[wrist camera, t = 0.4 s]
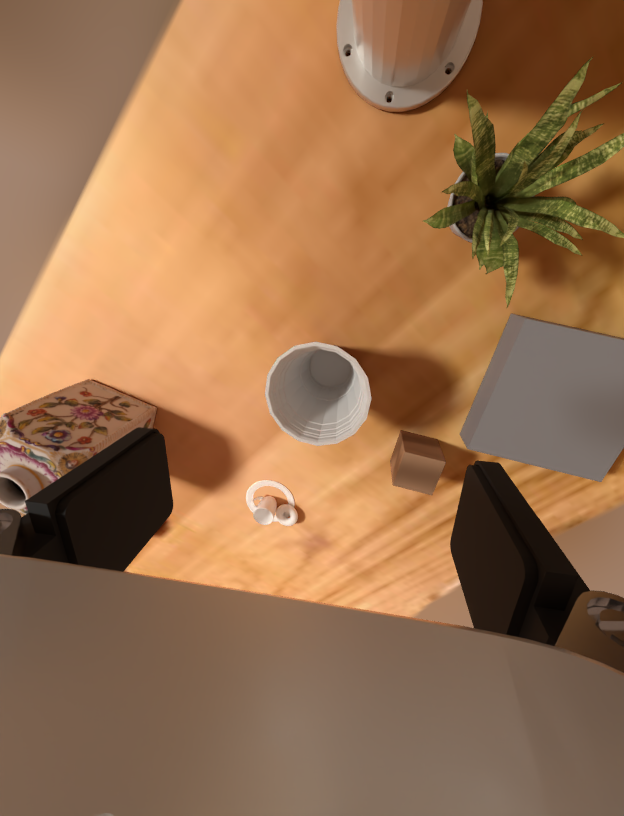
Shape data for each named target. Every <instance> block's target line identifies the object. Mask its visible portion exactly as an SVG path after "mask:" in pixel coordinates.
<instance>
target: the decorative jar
mask: <svg viewBox="0 0 624 816" xmlns="http://www.w3.org/2000/svg"><path fill="white" fill-rule="evenodd" d="M156 411H157V408H156V407H155V406H152V405H149V404H147V403H145V402H142V401H140V400H137V399H135V398H133V397H131V396H128V395H126V394H123V393H121V392H119V391H117V390H114V389H112V388H110V387H107V386H105V385H102V384H99V383H97V382H95V381H92V380H89V379H88V380H85V381H82V382H80V383H77V384H74V385H72V386H69V387H66V388H64V389H62V390H59V391H57V392H54V393H51V394H49V395H47V396H44V397H42V398H40V399H37V400H35V401H32V402H30V403H28V404H26V405H23V406H21V407H19V408H17V409H15V410H12V411H10V412H8V413H5V414H3V415H2V416H1V417H0V503H1V504H2V505H4V506H6V507H8V508H11V509H13V510H16V511H18V512H19V513H22V514H24V515H26V514H27V513H28V510H27V507H26V504H25V501H26V500H27V499H29V498H30V497H32V496H33V495H35V494H36V493H38V492H39V491H41V490H42V489H44V488H45V487H47V486H48V485H50V484H52V483H53V482H55V481H56V480H58V479H59V478H61V477H62V476H64V475H65V474H67V473H68V472H70V471H71V470H73V469H74V468H76V467H77V466H79V465H81V464H82V463H84V462H85V461H87V460H88V459H90V458H91V457H93V456H94V455H96V454H97V453H99V452H100V451H102V450H103V449H105V448H106V447H108V446H110V445H111V444H113V443H114V442H116V441H117V440H119V439H120V438H122V437H123V436H125V435H126V434H128V433H129V432H131V431H132V430H134V429H135V428H138V427H141V428H152V429H153V424H154V420H155V416H156Z"/></svg>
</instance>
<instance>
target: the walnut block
mask: <svg viewBox="0 0 624 816" xmlns="http://www.w3.org/2000/svg"><path fill="white" fill-rule="evenodd" d="M390 463H391V472H392V482H393V485H394V486H398V487H402V488H406V489H409V490H413V491H417V492H421V493H425V494H429V495H432V494H433V492H434V490H435V487H436V485H437V482H438V480H439V478H440V475H441V473H442V471H443V468H444V466H445V464H446V461H445V458H444V456H443V453H442V450H441V448H440V445H439V443H438V440H437V439H434V438H430V437H426V436H422V435H418V434H414V433H410V432H406V431H402V430H401V431H400V434H399V437H398V440H397V443H396V446H395V449H394V451H393V454H392V457H391V460H390Z"/></svg>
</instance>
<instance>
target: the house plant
mask: <svg viewBox="0 0 624 816" xmlns="http://www.w3.org/2000/svg"><path fill="white" fill-rule="evenodd" d="M594 56H595V55H594ZM594 56H593V57H594ZM593 57H592V58H593ZM592 58H591V59H592ZM591 59H590V60H591ZM590 60H588V61H587V62H586V63H585V64H584V65H583V66H582V68H581V69H580V70H579V71H578V73H577V74H576V75H575V76H574V77H573V78H572V80H571V81H570V82H569V83H568V84H567V85H566V86H565V88H564V89H563V90H562V92H561V93H560V94H559V96H558V97H557V98H556V100H555V101H554V102H553V103H552V104H551V106H550V107H549V108H548V110H547V111H546V112H545V114H544V115H543V116H542V118H541V119H540V120H539V122H538V123H537V124H536V126H535V127H534V128H533V129H532V130H531V131H530V132H529V133H528V134H527V135H526V136H525V137H524V138H523V139H522V140H521V141H520V142H519V143H518V144H517V145H516V146H515V147H514V149H513V150H512V151H511V153H510V154H507V153H495V134H494V126H493V124H492V123H491V122H490V121H489V119H488V112H487V115H486V116H485V115H484V113H483V111H482V109H481V106H480V104H479V102H478V101H477V100H476V99H474V98H473V97H472V96H470V95H469V94H468V90H467V102H468V108H469V115H470V122H471V127H472V134H473V141H474V147H473V146H472V145H471V144H470V143H469V142H467V141H465V140H463V139H461V138H460V137H458V136H457V135H455V143H454V149H453V151H454V156H455V159H456V162H457V164H458V165H459V167H460V168H461V169H462V171H463V172H462V174H461V175H460V177H459V178H458V180H457V181H456V183H455V184H454V185H452V186H450V187H449V188H447V189H445V190H444V191H442V192H444V193H446V194H450V193H451V195H450V199H449V203H448V206H447V207H446V208H444V209H442V210H440V211H438V212H437V213H436V214H434V215H433V216H432V217H430V218H429V219H427V220H424V221H423V222H426V223H428V224H429V225H430V226H432V227H433V228H439V229H440V228H446V227H448V226H450V228H451V230H452V232H453V233H454V234H456V235H457V236H459V237H461V238H463V239H464V240H466V241H468V242H471V243H472V258H474V256H475V254H476V255H477V258H478V261H479V265H480V268H479V270H480V269H481V267H482V266H483V265H485V267H486V271H487V273H489V272H491V271H494V270H496V269H498V268H500V267H502V266H503V267H504V272H505V277H506V296H505V297H506V302H507V307H508V305H509V303H510V300H511V297H512V294H513V291H514V287H515V283H516V279H517V273H518V257H519V248H518V242H517V240H516V239H515V237H514V236H513V234H512V233H513V232H515V231H516V230H517V229H518V228H519V227H522V228H525V229H528V230H531V231H533V232H535V233H537V234H539V235H541V236H543V237H545V238H546V239H548V240H550V241H551V242H553V243H555V244H557V245H560V246H562V247H565V248H568V249H569V250H570V251H572V252H574V253H576V254H579V255H582V254H581V253H580V251H579V250H578V249H577V248H576V246H575V245H573V244H572V243H571V242H570V241H569V240H568V239H567V238H565V237H564V236H563V235H561V234H559V233H557V232H556V231H560V232H564V233H567V234H569V235H571V236H572V237H574V238H578V239H582V237H581V236H580V235H579V234H578V232H577V231H576V230H575V229H574V228H573V227H572V226H571V225H570V224H568V223H567V222H565V221H564V220H566V221H569V222H571V223H574V224H576V225H579V226H581V227H586V228H591V229H596V230H601V231H604V232H606V233H608V234H610V235H612V236H615V237H621V238H624V234H623V233H622V232H621V231H620V230H619V229H618V228H617V227H616V226H615V225H613V224H612V223H610V222H609V221H607V220H606V219H604V218H603V217H601V216H599V215H597V214H595V213H594V212H592V211H589V210H587V209H585V208H582V207H580V206H578V205H576V203H575V202H574V200H572V199H570V198H568V197H540V196H534V195H536V194H538V193H540V192H542V191H544V190H547V189H549V188H552V187H554V186H557V185H559V184H561V183H564V182H566V181H569V180H571V179H573V178H575V177H577V176H580V175H582V174H584V173H586V172H588V171H590V170H591V169H593V168H595V167H597V166H599V165H601V164H603V163H604V162H605V161H607V160H608V159H609V158H611V157H612V156H613V155H614V154H616V153H617V152H618V151H620V150H621V149H622V148H623V147H624V133H623V134H621V135H619V136H617V137H615V138H613V139H612V140H610V141H608V142H606V143H605V144H603V145H601V146H599V147H597V148H596V149H594V150H592V151H590V152H588V153H586V154H585V155H583V156H580V157H578V158H576V159H574V160H571V161H569V162H567V163H565V164H563V165H560V166H558V165H559V164H560V163H562V162H563V161H564V160H565V159H566V158H567V157H568V156H569V154H570V153H571V152H572V150H573V148H574V147H575V146H576V145H577V144H578V143H580V142H581V141H582V140H583V139H584V138H586V137H588V136H589V135H591V134H593V133H594V132H596V130H597V129H598V128H599V127H600V126H601V125H603V124H600V125H597V126H595V127H592V128H589V129H587V130H585V131H582V130H581V131H582V132H581V131H575V130H576V128H577V125H578V121H579V118H580V114H581V112H582V111H583V110H582V111H581V112H580V113H579V114H578V116H577V117H576V118H575V120H574V121H573V123H572V124H571V125H570V127H569V128H568V130H567V131H566V132H565V133H563V134H561V135H560V136H558V137H557V138H556V139H555V140H553V142H552V143H551V144H550V145H549V146H548V147H547V148H546V149H545V150H544V151H543V152H542V153H541V151H542V150H543V149H544V148H545V147H546V146H547V144H548V143H549V142H550V141H551V140H552V138H553V137H554V136H555V135H556V133H557V132H558V131H559V130H560V129H561V128H562V127H563V126H564V124H565V122H566V120H567V117H569V116H570V115H572V114H574V113H576V112H578V111H580V110H581V109H583V108H585V107H587V106H589V105H591V104H592V103H594V102H596V101H598V100H599V99H601V98H602V97H604V96H605V95H606V94H608V93H609V92H611V91H612V90H614V89H615V88H616V87H618V86H619V85H620V84H621V83H619V84H617V85H615V86H612V87H609V88H607V89H605V90H603V91H601V92H599V93H597V94H595V95H593V96H591V97H589V98H587V99H585V100H582V101H579V102H576V103H573V104H571V103H572V101H573V99H574V97H575V96H576V94H577V92H578V91H579V89H580V87H581V85H582V83H583V81H584V80H585V76H586V72H587V68H588V65H589V62H590ZM557 166H558V167H557ZM555 167H556V168H555ZM552 169H553V170H552ZM442 192H441V193H442ZM560 218H561V219H560ZM562 219H563V220H562ZM529 220H530V221H529ZM532 221H534V222H532ZM535 222H537V223H535ZM539 223H540V224H539ZM547 226H548V227H547ZM549 227H550V228H549ZM551 228H552V229H554V230H556V231H554V230H552V229H551ZM582 240H583V239H582ZM487 273H486V274H487ZM506 309H507V308H506Z"/></svg>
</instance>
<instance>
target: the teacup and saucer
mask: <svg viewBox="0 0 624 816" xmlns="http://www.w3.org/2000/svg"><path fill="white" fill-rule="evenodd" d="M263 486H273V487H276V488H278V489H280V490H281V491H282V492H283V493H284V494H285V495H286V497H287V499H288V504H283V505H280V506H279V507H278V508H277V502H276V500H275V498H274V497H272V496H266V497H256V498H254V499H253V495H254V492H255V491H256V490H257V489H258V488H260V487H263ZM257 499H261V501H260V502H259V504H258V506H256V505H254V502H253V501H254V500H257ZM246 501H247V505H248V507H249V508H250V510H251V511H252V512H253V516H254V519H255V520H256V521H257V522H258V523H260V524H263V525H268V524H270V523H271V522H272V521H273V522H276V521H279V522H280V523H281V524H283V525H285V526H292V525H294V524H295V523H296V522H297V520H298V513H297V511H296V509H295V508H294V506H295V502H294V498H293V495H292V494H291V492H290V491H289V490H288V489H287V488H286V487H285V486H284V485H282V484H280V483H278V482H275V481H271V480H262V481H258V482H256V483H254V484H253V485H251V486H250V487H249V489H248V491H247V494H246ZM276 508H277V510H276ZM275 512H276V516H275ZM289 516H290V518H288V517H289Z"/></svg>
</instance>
